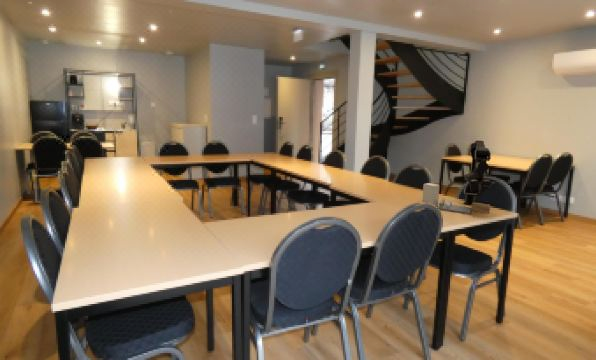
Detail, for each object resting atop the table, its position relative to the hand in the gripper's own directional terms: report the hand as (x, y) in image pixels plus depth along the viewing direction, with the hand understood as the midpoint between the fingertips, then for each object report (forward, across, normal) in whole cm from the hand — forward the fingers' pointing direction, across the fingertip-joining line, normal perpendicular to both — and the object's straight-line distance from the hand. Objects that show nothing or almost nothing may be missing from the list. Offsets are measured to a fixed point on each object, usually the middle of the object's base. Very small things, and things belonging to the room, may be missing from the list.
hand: (476, 194), depth 225 cm
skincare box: (+12, -11, -24) cm, 28 cm away
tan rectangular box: (+12, -1, +5) cm, 13 cm away
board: (+12, -5, -9) cm, 16 cm away
